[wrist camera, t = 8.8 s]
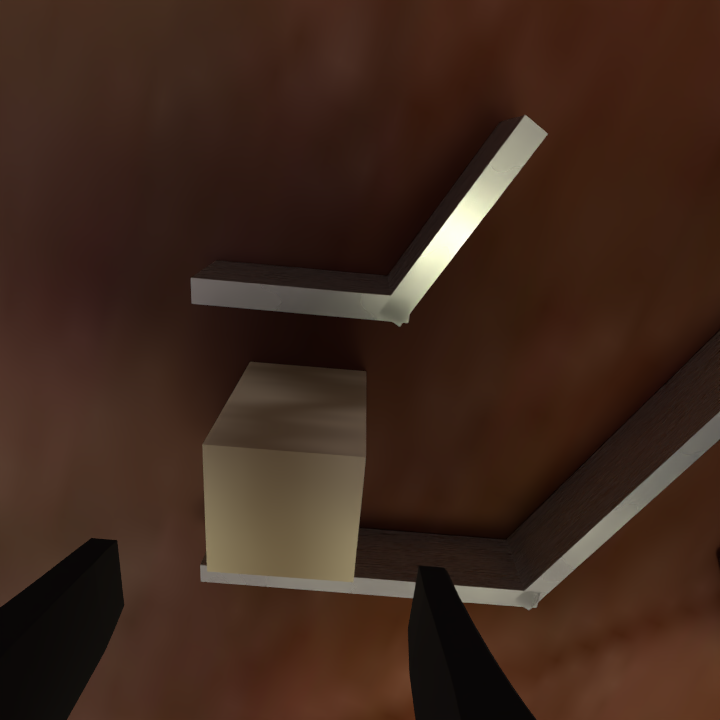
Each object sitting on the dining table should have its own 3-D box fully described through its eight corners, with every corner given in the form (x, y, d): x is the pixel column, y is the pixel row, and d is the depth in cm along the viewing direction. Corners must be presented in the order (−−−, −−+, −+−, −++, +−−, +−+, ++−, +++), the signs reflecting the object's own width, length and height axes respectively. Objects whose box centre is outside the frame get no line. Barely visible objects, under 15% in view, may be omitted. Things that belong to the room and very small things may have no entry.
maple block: (366, 370, 19) (365, 457, 14) (357, 469, 21) (353, 582, 15) (250, 361, 19) (202, 444, 14) (249, 460, 21) (206, 571, 15)
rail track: (690, 29, 15) (757, 2, 12) (777, 467, 21) (836, 512, 18) (78, 327, 19) (32, 354, 16) (290, 632, 24) (281, 689, 22)
